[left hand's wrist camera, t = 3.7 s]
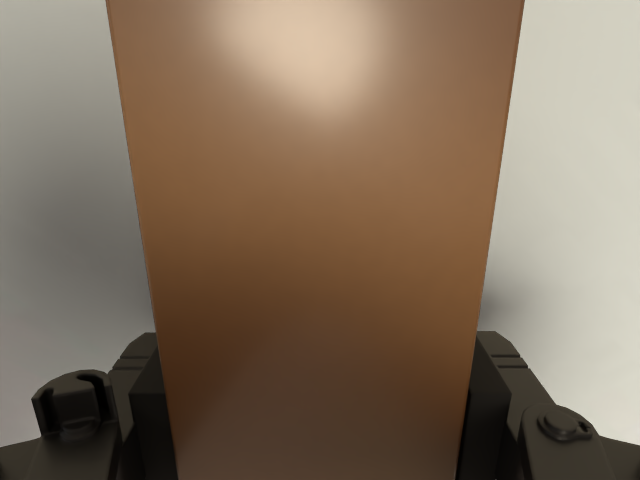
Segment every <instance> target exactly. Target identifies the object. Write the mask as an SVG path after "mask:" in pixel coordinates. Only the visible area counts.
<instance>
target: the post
mask: <svg viewBox="0 0 640 480" xmlns="http://www.w3.org/2000/svg"><path fill="white" fill-rule="evenodd" d="M524 2H525V0H106V7H107V13H108V20H109V26H110V33H111V39H112V46H113V53H114V59H115V66H116V72H117V79H118V85H119V92H120V99H121V105H122V112H123V118H124V125H125V132H126V138H127V145H128V151H129V158H130V164H131V171H132V178H133V184H134V191H135V197H136V204H137V210H138V217H139V224H140V230H141V237H142V243H143V250H144V257H145V263H146V270H147V276H148V283H149V289H150V296H151V303H152V309H153V316H154V322H155V329H156V335H157V342H158V349H159V355H160V362H161V368H162V375H163V382H164V388H165V395H166V401H167V408H168V414H169V421H170V428H171V434H172V441H173V447H174V454H175V460H176V467H177V474H178V480H455V477H456V470H457V464H458V457H459V450H460V443H461V436H462V429H463V422H464V415H465V408H466V402H467V395H468V388H469V381H470V374H471V367H472V360H473V353H474V346H475V339H476V333H477V326H478V319H479V312H480V305H481V298H482V291H483V284H484V277H485V271H486V264H487V257H488V250H489V243H490V236H491V229H492V222H493V215H494V209H495V202H496V195H497V188H498V181H499V174H500V167H501V160H502V153H503V147H504V140H505V133H506V126H507V119H508V112H509V105H510V98H511V91H512V84H513V78H514V71H515V64H516V57H517V50H518V43H519V36H520V29H521V22H522V16H523V9H524Z"/></svg>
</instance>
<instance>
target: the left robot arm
mask: <svg viewBox="0 0 640 480" xmlns="http://www.w3.org/2000/svg"><path fill="white" fill-rule="evenodd" d="M112 368H113V369H112V370H110V371H109V373H108V374H106V373H105V372H102V371H98V370H94V369H93V370H79V371H75V372H71V373H67V374H64V375H62V376H60V377H58V378H55V379H53V380H51V381H50V382H48V383H47V384H45V385H44V386H43V387H41V388H40V389H39V390H38V391H37V392H36V394H35V395H34V396H33V397H32V399H31V400H32V404H33V407H34V411H35V414H36V418H37V421H38V425H39V428H40V432H41V437H40V438H37V439H34V440H30V441H26V442H21V443H17V444H13V445H9V446H4V447H0V480H178V474H177V467H176V460H175V454H174V447H173V441H172V434H171V428H170V421H169V414H168V408H167V401H166V395H165V388H164V382H163V375H162V368H161V362H160V355H159V349H158V342H157V335H156V333H144V334H143V335H141V336H140V337H138V338H137V339H135V340H134V341H133V342H131V343H130V344H129V345H128V346H127V348H126V349H125V351H124V352H123V353H122V355H121V356H120V359H118V360H117V362H116V363H115V364H114V366H113V367H112ZM455 480H640V445H635V444H631V443H627V442H622V441H618V440H614V439H609V438H606V437H603V436H599V434H598V433H597V431H596V430H595V428H594V427H593V425H592V424H591V423H590V422H588V421H587V420H586V419H585V418H584V417H582V416H581V415H580V414H578V413H576V412H574V411H572V410H570V409H568V408H566V407H562V406H559V405H556V404H555V403H554V401H553V400H552V398H551V397H550V396H549V394H548V393H547V392H546V390H545V389H544V387H543V386H542V385H541V383H540V382H539V380H538V379H537V378H536V376H535V375H534V374H533V372H532V371H531V369H528V365H527V364H526V363H525V361H524V360H523V358H520V354H519V353H518V352H517V350H516V349H515V347H514V346H513V345H512V343H511V342H510V341H508V340H507V339H505V338H504V337H502V336H501V335H500V334H498V333H497V332H495V331H477V333H476V339H475V346H474V353H473V360H472V367H471V374H470V381H469V388H468V395H467V402H466V408H465V415H464V422H463V429H462V436H461V443H460V450H459V457H458V464H457V470H456V477H455Z"/></svg>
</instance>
